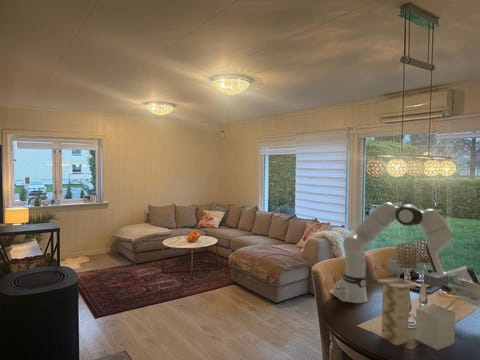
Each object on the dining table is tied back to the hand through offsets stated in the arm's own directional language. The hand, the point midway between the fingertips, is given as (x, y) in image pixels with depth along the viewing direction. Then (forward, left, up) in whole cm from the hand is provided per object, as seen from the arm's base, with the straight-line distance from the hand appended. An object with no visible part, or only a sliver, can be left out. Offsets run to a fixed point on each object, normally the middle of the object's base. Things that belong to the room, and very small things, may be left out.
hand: (448, 277), depth 149 cm
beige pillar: (-9, -23, -28) cm, 37 cm away
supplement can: (-59, +81, -28) cm, 104 cm away
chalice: (-61, +49, -28) cm, 83 cm away
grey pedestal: (0, -8, -28) cm, 29 cm away
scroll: (-65, +65, -28) cm, 96 cm away
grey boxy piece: (0, -4, -2) cm, 5 cm away
